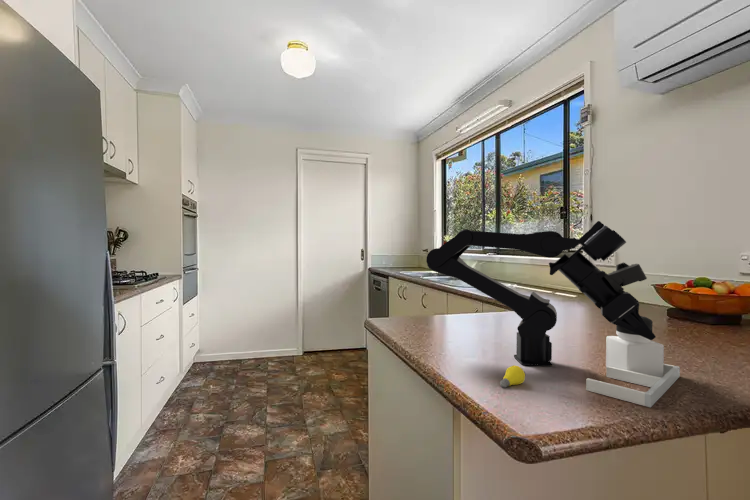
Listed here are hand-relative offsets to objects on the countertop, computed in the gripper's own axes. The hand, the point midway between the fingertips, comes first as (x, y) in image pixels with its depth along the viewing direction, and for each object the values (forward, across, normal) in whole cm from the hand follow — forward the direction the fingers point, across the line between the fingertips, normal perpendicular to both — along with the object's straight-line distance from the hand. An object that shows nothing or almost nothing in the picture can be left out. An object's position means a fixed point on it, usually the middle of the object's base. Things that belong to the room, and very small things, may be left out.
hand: (648, 333), depth 74 cm
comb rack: (+4, -5, +8) cm, 11 cm away
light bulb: (-10, -17, +23) cm, 31 cm away
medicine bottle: (+5, 0, +8) cm, 9 cm away
